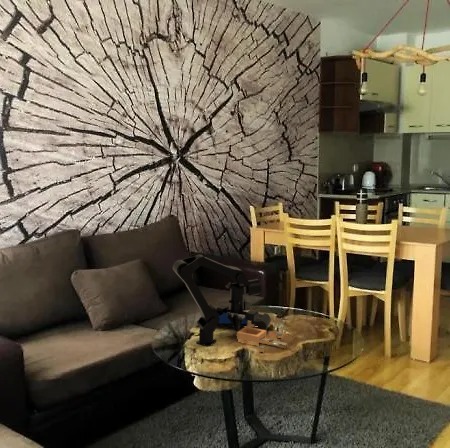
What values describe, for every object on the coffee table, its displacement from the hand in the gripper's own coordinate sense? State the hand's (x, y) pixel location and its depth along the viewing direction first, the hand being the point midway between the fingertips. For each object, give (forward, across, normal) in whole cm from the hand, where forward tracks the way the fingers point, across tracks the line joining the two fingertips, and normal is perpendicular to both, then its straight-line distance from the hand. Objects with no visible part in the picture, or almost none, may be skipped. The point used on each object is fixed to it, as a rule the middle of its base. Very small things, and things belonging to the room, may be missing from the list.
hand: (237, 331), depth 242 cm
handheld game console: (+3, +10, -12) cm, 16 cm away
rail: (+3, -12, 0) cm, 12 cm away
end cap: (+3, -5, -13) cm, 14 cm away
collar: (+3, -7, 0) cm, 8 cm away
